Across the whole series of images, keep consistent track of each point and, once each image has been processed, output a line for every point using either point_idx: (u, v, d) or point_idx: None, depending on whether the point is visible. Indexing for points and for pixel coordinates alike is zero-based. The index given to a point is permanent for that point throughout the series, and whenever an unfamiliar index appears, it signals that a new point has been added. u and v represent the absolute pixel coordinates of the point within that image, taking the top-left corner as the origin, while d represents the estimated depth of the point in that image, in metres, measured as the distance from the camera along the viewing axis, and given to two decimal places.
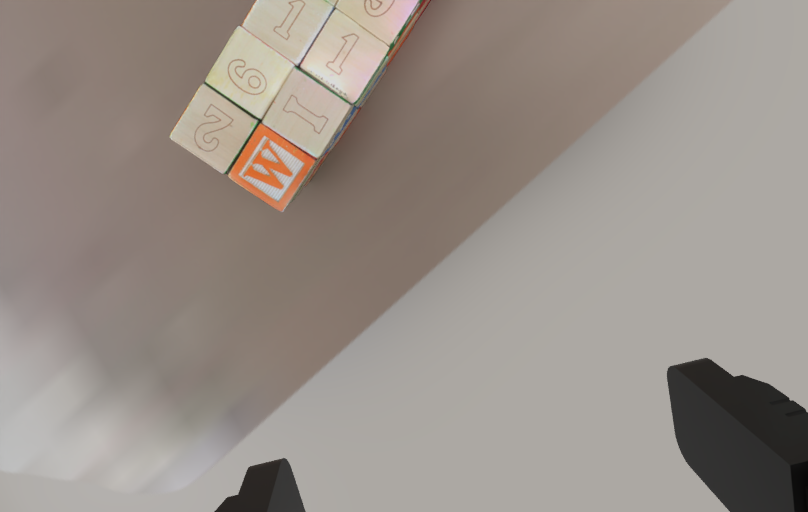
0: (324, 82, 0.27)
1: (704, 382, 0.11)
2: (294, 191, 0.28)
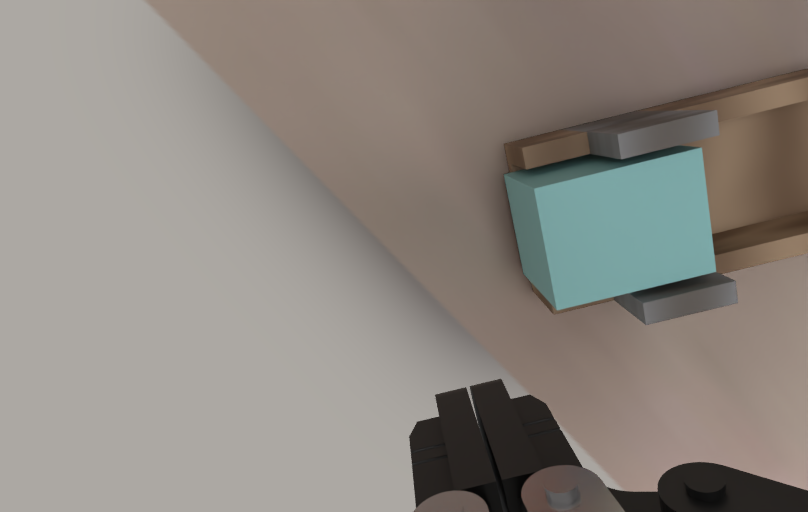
0: None
1: (484, 402, 0.12)
2: None
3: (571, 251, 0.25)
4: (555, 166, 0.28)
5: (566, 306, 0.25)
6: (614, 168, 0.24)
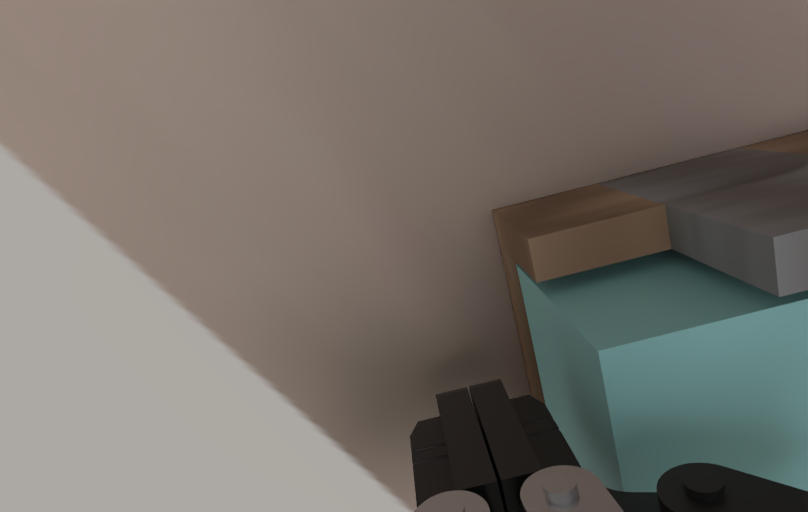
0: None
1: (483, 402, 0.12)
2: None
3: None
4: None
5: None
6: (790, 299, 0.10)
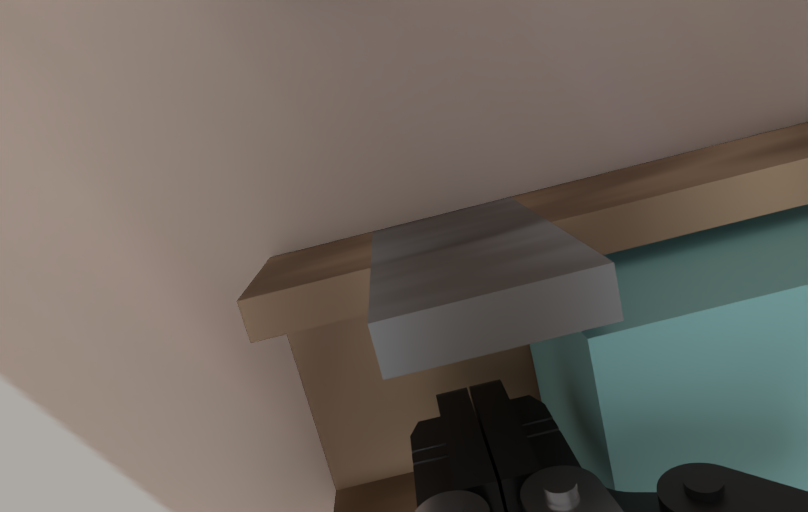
0: None
1: (483, 402, 0.12)
2: None
3: None
4: None
5: None
6: (778, 288, 0.10)
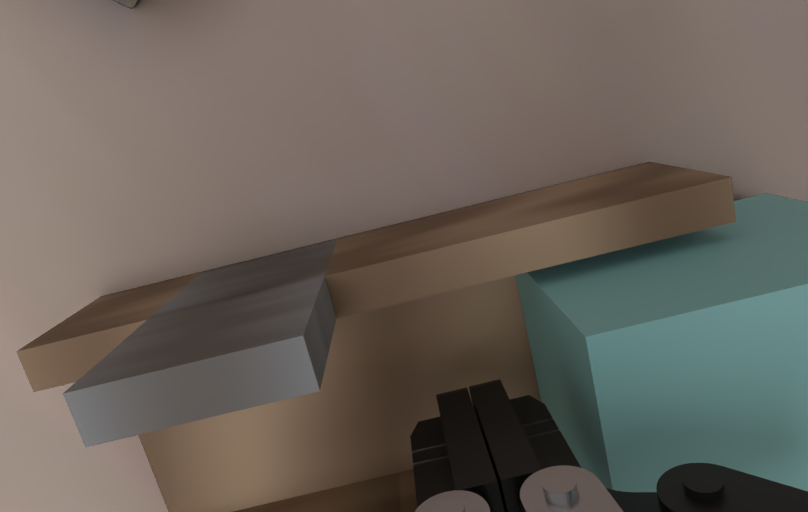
0: None
1: (483, 402, 0.12)
2: None
3: None
4: None
5: None
6: (776, 287, 0.10)
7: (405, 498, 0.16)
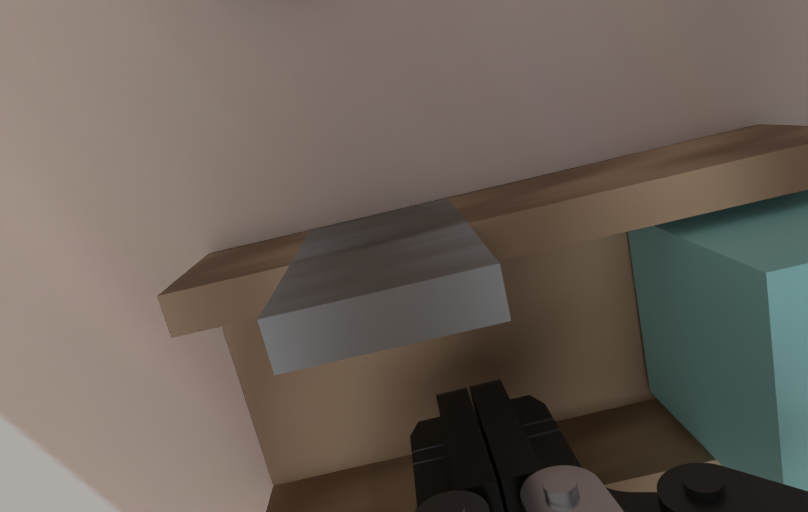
0: None
1: (483, 402, 0.12)
2: None
3: None
4: None
5: None
6: None
7: None
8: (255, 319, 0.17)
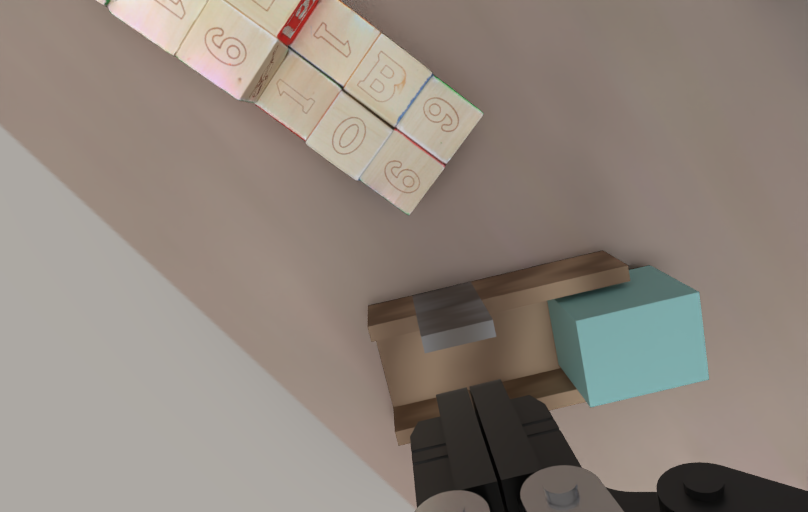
0: None
1: (483, 402, 0.12)
2: None
3: (602, 365, 0.33)
4: None
5: (597, 404, 0.34)
6: (634, 306, 0.33)
7: None
8: None
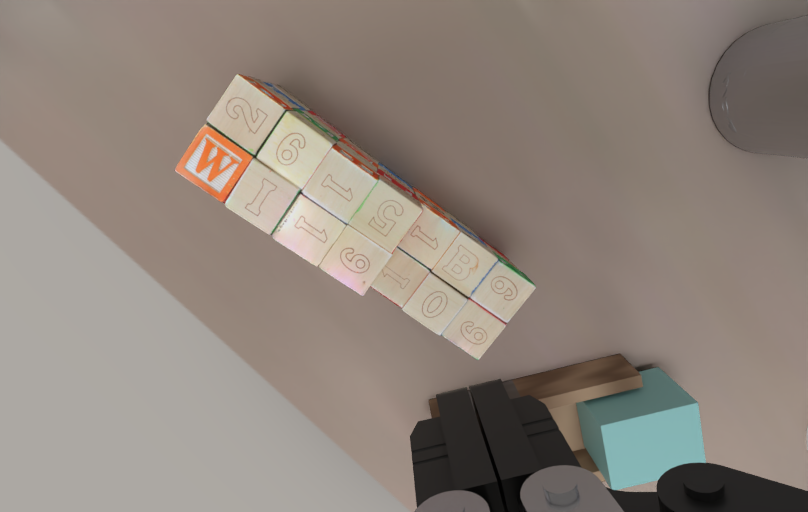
0: (288, 213, 0.32)
1: (484, 402, 0.12)
2: (194, 182, 0.32)
3: (621, 459, 0.42)
4: None
5: (617, 488, 0.43)
6: (647, 413, 0.42)
7: None
8: None
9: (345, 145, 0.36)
